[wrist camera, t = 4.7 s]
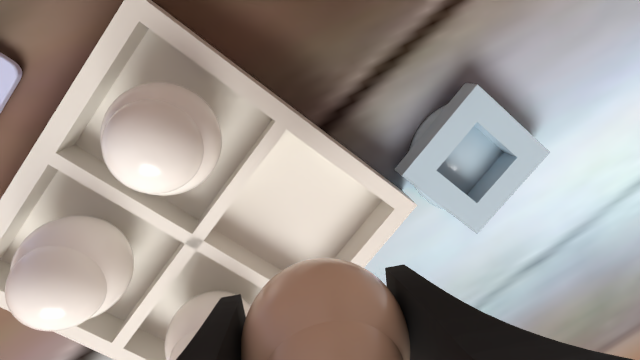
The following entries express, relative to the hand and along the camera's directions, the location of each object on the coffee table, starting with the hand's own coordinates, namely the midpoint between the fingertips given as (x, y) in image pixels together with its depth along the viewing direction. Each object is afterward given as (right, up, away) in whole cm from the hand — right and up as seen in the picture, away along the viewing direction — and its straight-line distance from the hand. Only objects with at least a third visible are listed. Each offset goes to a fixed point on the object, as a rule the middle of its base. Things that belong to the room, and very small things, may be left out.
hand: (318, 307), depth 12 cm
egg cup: (+8, +5, +9) cm, 13 cm away
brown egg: (0, 0, +1) cm, 1 cm away
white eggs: (-6, +2, +8) cm, 10 cm away
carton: (-6, +2, +8) cm, 10 cm away
